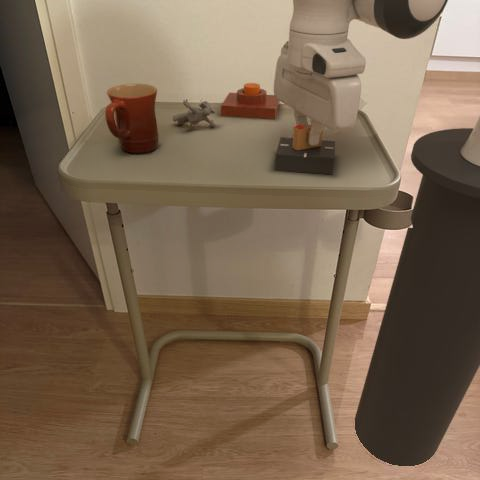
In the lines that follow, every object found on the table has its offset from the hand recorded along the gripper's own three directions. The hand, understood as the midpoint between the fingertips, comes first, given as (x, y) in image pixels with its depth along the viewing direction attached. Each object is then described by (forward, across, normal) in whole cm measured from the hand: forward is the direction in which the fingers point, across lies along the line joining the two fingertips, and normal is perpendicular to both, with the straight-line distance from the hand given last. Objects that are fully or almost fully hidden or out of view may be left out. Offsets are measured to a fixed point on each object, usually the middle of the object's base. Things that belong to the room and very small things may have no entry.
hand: (307, 140), depth 81 cm
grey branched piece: (+4, -24, -12) cm, 28 cm away
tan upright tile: (+1, 0, 0) cm, 1 cm away
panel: (+4, 0, 0) cm, 4 cm away
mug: (+4, -18, -26) cm, 32 cm away
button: (+1, -31, +5) cm, 31 cm away
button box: (+4, -31, +5) cm, 32 cm away
